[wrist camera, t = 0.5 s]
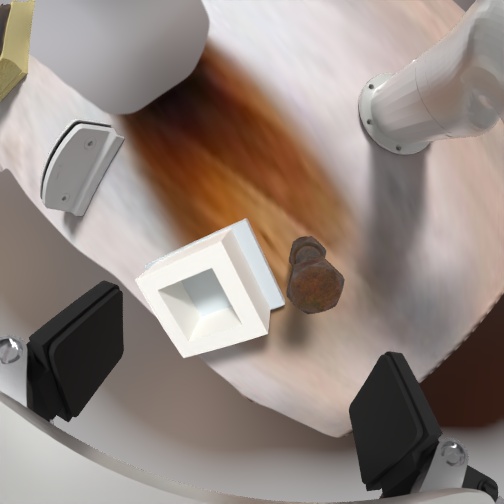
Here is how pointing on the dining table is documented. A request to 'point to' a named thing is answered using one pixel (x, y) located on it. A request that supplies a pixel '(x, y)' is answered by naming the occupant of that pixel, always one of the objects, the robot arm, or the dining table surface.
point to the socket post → (213, 291)
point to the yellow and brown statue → (14, 43)
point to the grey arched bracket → (77, 165)
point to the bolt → (313, 277)
